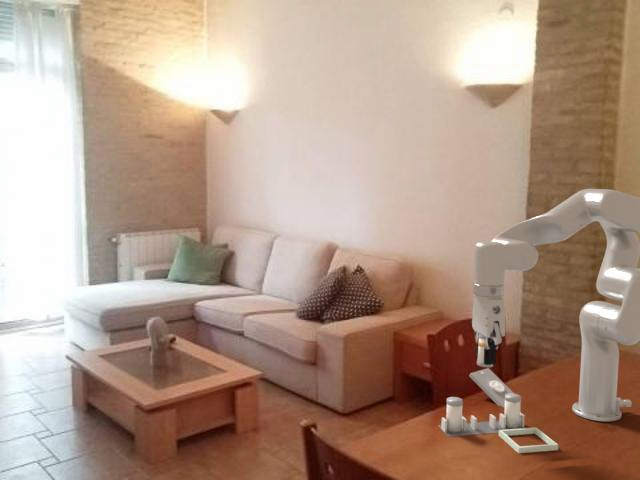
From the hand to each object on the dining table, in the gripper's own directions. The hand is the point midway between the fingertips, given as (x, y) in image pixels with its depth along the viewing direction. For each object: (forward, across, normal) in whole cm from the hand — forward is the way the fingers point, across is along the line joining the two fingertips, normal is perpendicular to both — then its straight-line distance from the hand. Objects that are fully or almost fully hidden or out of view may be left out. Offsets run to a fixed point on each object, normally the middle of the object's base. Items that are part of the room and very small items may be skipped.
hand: (485, 360), depth 161 cm
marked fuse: (+1, 0, 0) cm, 1 cm away
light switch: (+19, +20, -13) cm, 30 cm away
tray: (+19, -10, -7) cm, 23 cm away
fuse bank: (+19, 0, 0) cm, 19 cm away
